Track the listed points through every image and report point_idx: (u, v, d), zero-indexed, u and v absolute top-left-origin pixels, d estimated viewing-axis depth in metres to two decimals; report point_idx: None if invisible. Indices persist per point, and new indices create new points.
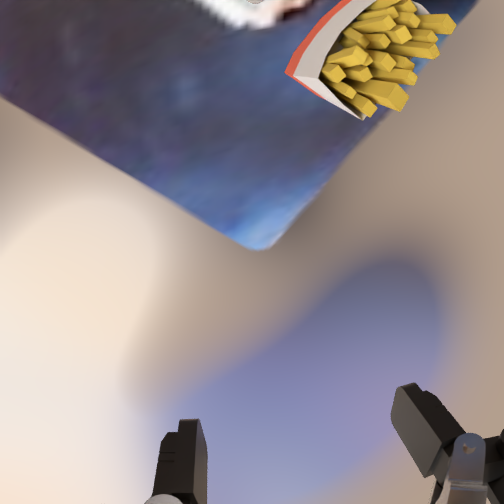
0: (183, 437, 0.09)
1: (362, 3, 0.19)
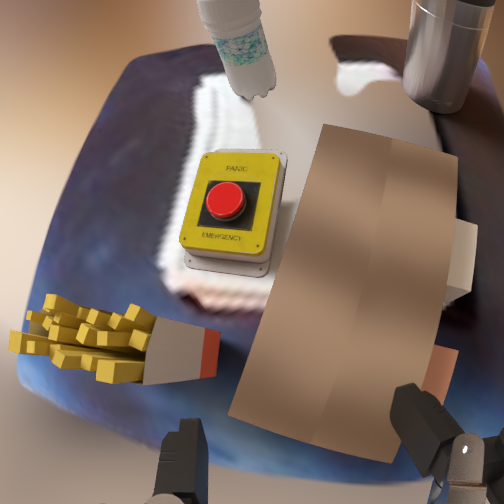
0: (184, 436, 0.10)
1: None
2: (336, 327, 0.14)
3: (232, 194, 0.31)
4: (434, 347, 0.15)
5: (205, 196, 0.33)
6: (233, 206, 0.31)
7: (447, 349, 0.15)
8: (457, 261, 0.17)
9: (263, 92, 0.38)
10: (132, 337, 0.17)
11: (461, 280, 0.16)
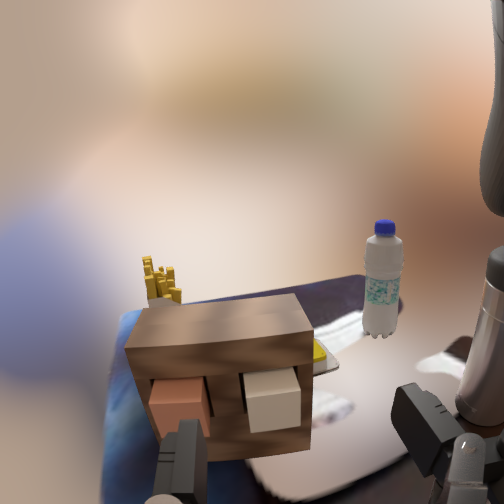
0: (183, 437, 0.09)
1: None
2: (189, 318, 0.30)
3: None
4: (199, 389, 0.25)
5: None
6: None
7: (200, 395, 0.24)
8: (264, 386, 0.25)
9: (373, 332, 0.50)
10: (167, 294, 0.40)
11: (251, 391, 0.24)
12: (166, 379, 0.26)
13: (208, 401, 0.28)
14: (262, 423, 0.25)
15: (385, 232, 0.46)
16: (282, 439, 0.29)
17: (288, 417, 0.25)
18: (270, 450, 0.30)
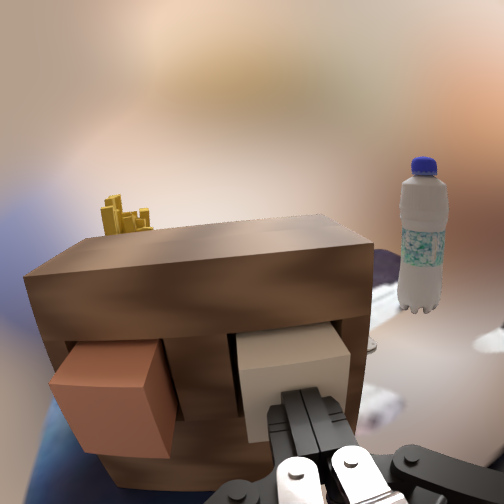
0: (291, 406, 0.11)
1: None
2: (146, 241, 0.17)
3: None
4: (147, 362, 0.12)
5: None
6: None
7: (144, 375, 0.11)
8: (276, 349, 0.13)
9: (413, 305, 0.37)
10: None
11: (250, 357, 0.12)
12: (94, 344, 0.14)
13: (173, 392, 0.15)
14: None
15: (426, 170, 0.33)
16: None
17: None
18: None
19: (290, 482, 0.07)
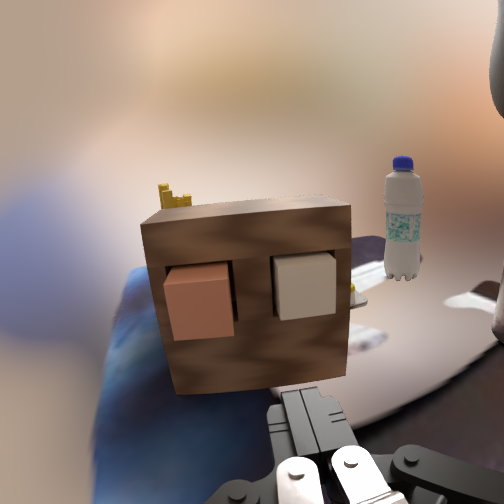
0: (291, 406, 0.11)
1: None
2: (213, 207, 0.28)
3: None
4: (225, 271, 0.23)
5: None
6: None
7: (226, 275, 0.22)
8: (295, 259, 0.24)
9: (396, 273, 0.48)
10: None
11: (282, 262, 0.24)
12: (185, 268, 0.25)
13: (231, 301, 0.26)
14: (294, 306, 0.24)
15: (404, 166, 0.44)
16: (315, 358, 0.27)
17: (322, 299, 0.24)
18: (300, 375, 0.28)
19: (290, 482, 0.07)
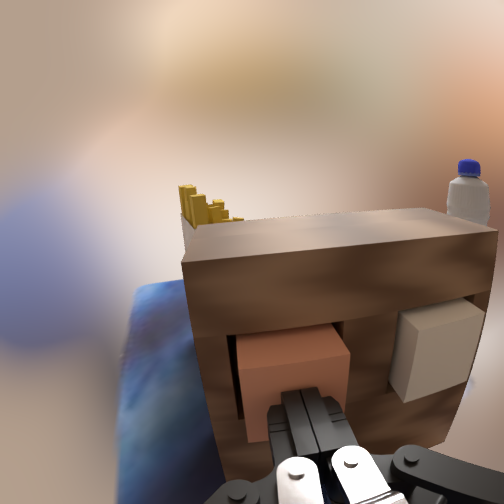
0: (291, 406, 0.11)
1: None
2: (293, 226, 0.17)
3: None
4: (334, 334, 0.13)
5: None
6: None
7: (342, 344, 0.13)
8: (432, 313, 0.14)
9: None
10: None
11: (419, 321, 0.13)
12: None
13: None
14: (425, 382, 0.14)
15: (472, 171, 0.33)
16: (420, 430, 0.17)
17: (459, 366, 0.14)
18: None
19: (290, 482, 0.07)
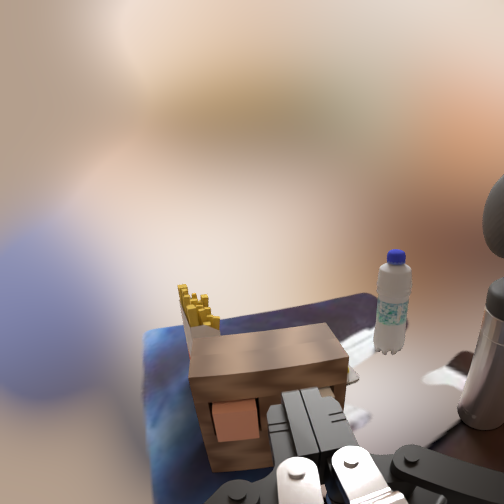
0: (291, 406, 0.11)
1: None
2: (240, 348, 0.34)
3: None
4: (253, 399, 0.31)
5: None
6: None
7: (255, 405, 0.30)
8: None
9: (383, 349, 0.54)
10: (206, 322, 0.44)
11: None
12: None
13: None
14: None
15: (397, 261, 0.51)
16: None
17: None
18: None
19: (290, 482, 0.07)
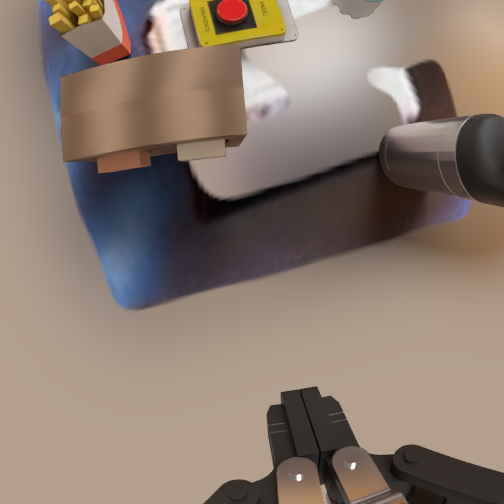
0: (291, 406, 0.11)
1: (110, 23, 0.26)
2: (115, 97, 0.23)
3: (237, 12, 0.32)
4: None
5: None
6: (227, 17, 0.32)
7: (138, 157, 0.28)
8: (193, 145, 0.28)
9: (341, 10, 0.34)
10: (83, 15, 0.21)
11: (182, 151, 0.28)
12: None
13: None
14: (193, 159, 0.31)
15: None
16: None
17: None
18: None
19: (290, 482, 0.07)
